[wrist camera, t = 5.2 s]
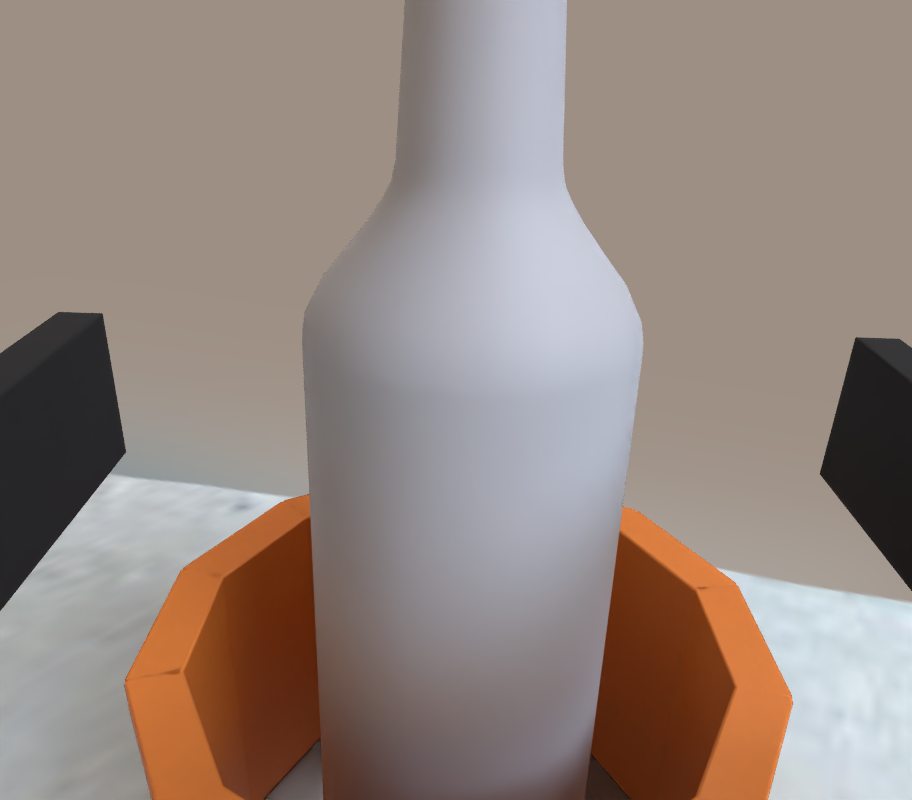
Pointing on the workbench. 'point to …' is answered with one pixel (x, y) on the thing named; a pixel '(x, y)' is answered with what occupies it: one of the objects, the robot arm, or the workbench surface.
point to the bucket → (296, 674)
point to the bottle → (468, 434)
